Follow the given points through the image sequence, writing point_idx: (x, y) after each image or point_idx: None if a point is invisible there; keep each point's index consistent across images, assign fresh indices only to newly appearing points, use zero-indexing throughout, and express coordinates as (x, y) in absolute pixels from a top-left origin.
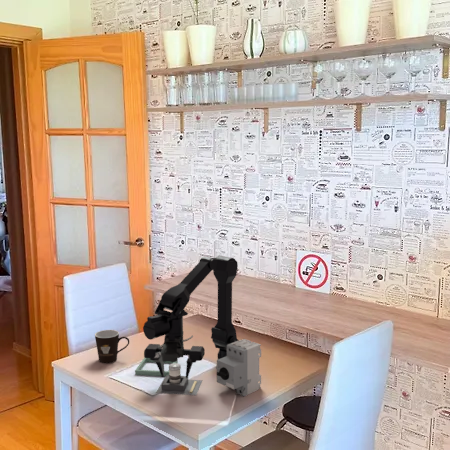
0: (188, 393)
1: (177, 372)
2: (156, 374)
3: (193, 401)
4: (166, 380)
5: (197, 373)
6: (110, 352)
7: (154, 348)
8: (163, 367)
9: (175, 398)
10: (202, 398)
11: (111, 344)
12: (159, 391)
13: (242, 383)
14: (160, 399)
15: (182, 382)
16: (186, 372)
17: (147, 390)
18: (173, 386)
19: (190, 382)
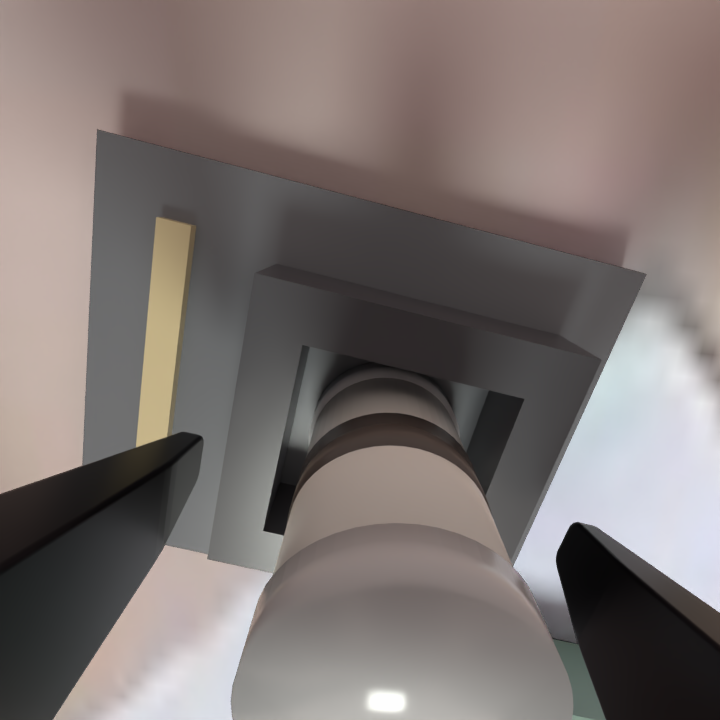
0: (209, 201)
1: (335, 500)
2: (570, 681)
3: (149, 41)
4: (506, 478)
5: (174, 681)
6: None
7: None
8: (634, 715)
9: (386, 166)
10: (43, 126)
11: None
12: (590, 306)
13: None
14: (579, 158)
15: (276, 389)
16: (128, 478)
17: (689, 416)
18: (413, 310)
19: (207, 494)
